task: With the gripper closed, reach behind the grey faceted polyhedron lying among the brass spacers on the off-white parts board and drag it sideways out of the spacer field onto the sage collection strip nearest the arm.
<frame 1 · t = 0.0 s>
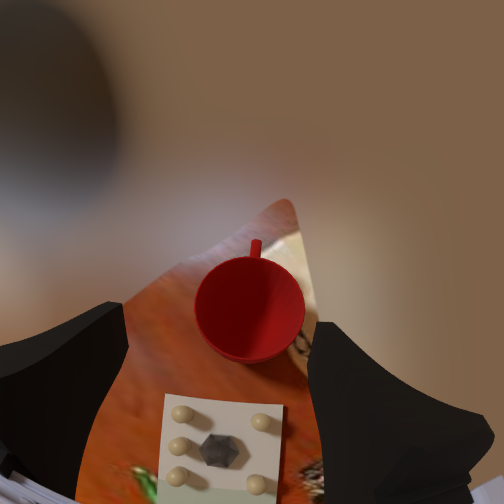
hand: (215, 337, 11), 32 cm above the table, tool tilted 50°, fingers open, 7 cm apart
grey faceted polyhedron: (219, 449, 33), point 1 cm above the table, touching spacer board
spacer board: (218, 467, 33), on the table
ceramic cup: (248, 315, 44), on the table
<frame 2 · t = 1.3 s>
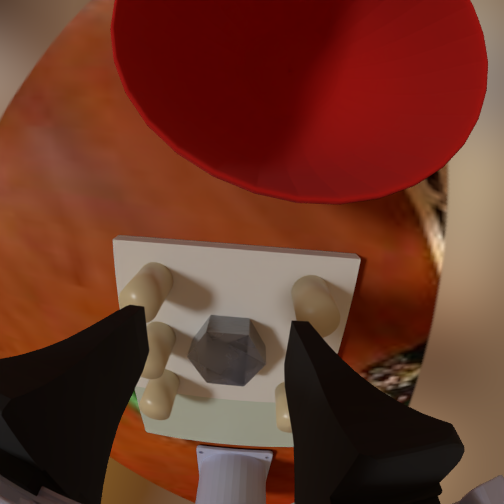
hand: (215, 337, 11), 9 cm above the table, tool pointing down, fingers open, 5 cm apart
grey faceted polyhedron: (228, 343, 21), point 1 cm above the table, touching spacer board
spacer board: (228, 365, 23), on the table
ceramic cup: (291, 45, 15), on the table
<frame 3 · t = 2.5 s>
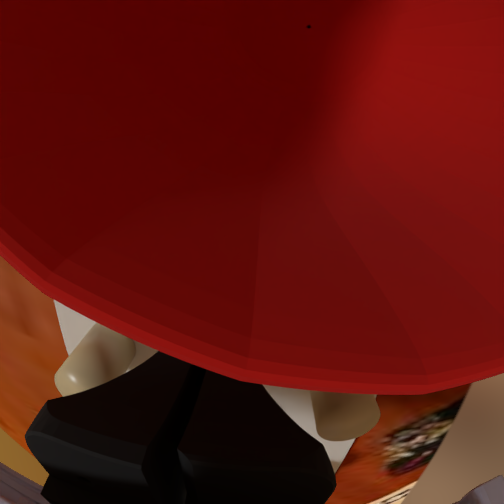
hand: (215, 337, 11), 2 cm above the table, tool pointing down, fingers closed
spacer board: (219, 437, 16), on the table
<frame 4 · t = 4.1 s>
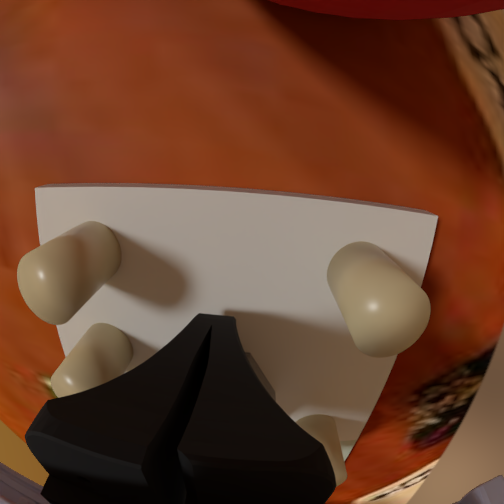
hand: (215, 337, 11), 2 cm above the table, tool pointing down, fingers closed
grey faceted polyhedron: (217, 387, 13), point 1 cm above the table
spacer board: (219, 392, 14), on the table
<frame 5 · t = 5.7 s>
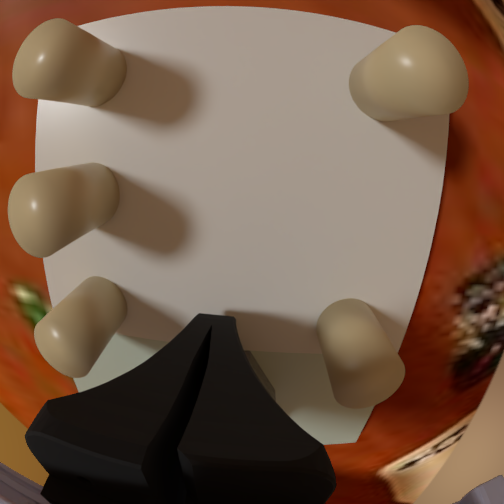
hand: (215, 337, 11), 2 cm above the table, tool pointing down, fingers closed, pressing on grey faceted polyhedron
grey faceted polyhedron: (217, 385, 13), point 1 cm above the table, touching gripper, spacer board
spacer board: (223, 271, 12), on the table
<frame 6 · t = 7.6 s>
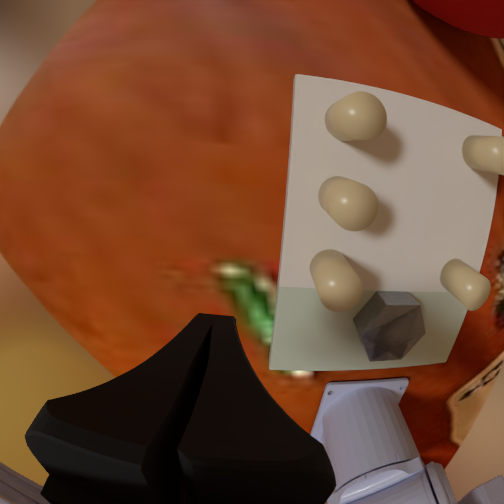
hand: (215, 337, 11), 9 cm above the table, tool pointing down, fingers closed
grey faceted polyhedron: (385, 319, 20), point 1 cm above the table, touching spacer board
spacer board: (396, 245, 19), on the table
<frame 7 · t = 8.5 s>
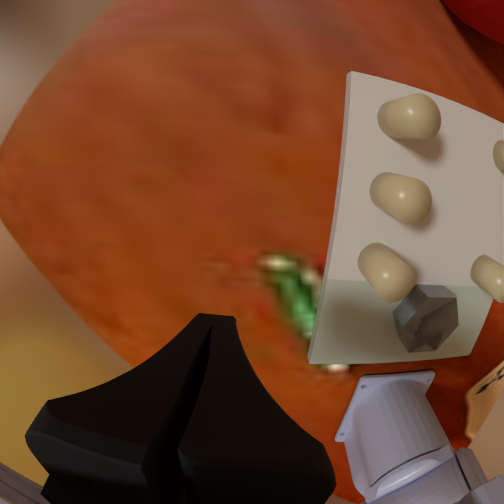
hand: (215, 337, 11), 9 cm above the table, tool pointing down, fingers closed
grey faceted polyhedron: (421, 312, 20), point 1 cm above the table, touching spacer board
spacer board: (433, 240, 19), on the table
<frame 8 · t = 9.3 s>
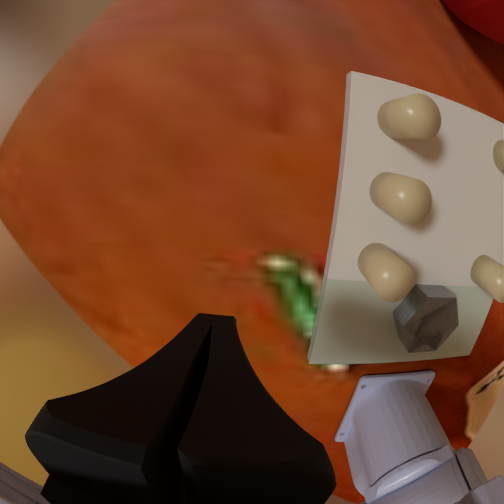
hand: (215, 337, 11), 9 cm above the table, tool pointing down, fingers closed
grey faceted polyhedron: (421, 312, 20), point 1 cm above the table, touching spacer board
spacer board: (433, 240, 19), on the table
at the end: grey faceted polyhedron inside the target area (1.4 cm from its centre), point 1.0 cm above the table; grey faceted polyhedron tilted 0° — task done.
